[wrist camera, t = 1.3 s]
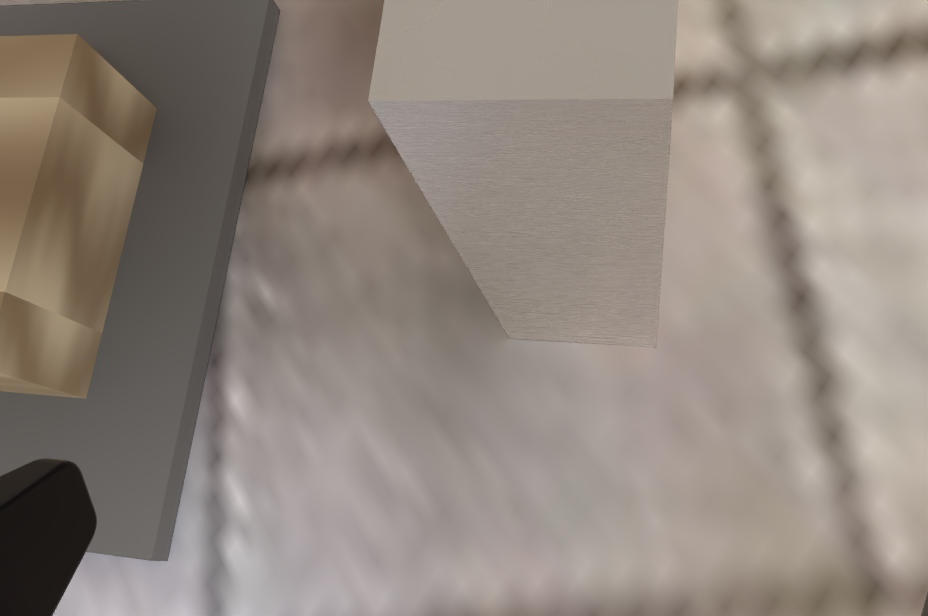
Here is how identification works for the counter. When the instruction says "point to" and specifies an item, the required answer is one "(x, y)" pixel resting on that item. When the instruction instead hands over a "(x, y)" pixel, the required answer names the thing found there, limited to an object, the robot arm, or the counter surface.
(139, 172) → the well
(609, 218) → the steel bar
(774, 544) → the counter surface
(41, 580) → the robot arm
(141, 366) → the mat
